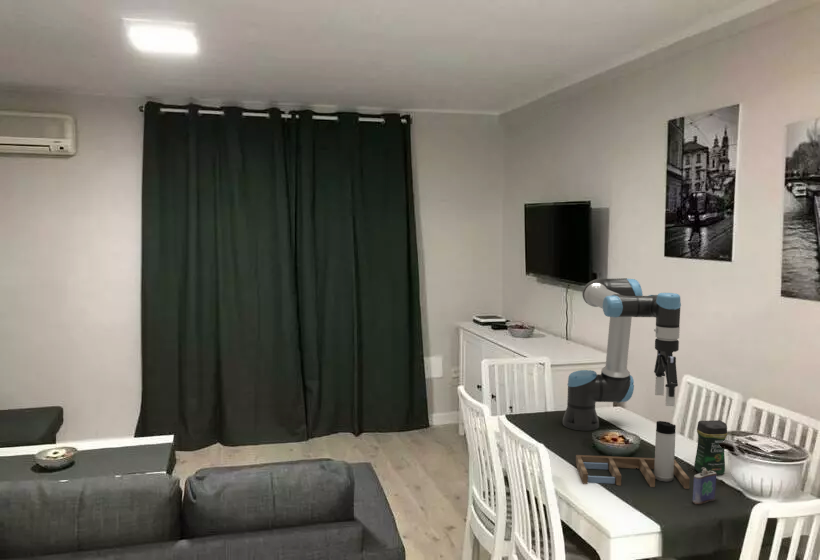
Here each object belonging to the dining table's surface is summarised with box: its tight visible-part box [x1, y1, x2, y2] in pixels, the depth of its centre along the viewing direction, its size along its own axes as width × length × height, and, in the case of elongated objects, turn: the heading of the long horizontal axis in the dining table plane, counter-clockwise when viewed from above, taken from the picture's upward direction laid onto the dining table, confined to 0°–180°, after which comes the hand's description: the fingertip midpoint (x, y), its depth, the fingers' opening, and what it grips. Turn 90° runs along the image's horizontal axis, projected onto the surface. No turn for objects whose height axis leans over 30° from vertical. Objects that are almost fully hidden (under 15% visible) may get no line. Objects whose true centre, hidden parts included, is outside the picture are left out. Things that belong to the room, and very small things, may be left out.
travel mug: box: [653, 420, 676, 483], centre depth 229 cm, size 6×7×20 cm
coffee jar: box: [694, 419, 728, 476], centre depth 235 cm, size 10×8×19 cm
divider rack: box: [575, 454, 691, 490], centre depth 232 cm, size 18×34×4 cm, turn 84°
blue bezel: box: [583, 462, 616, 485], centre depth 232 cm, size 14×9×2 cm, turn 174°
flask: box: [692, 467, 718, 505], centre depth 212 cm, size 9×3×11 cm, turn 117°
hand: (664, 400), depth 227 cm, fingers open, 13 cm apart
